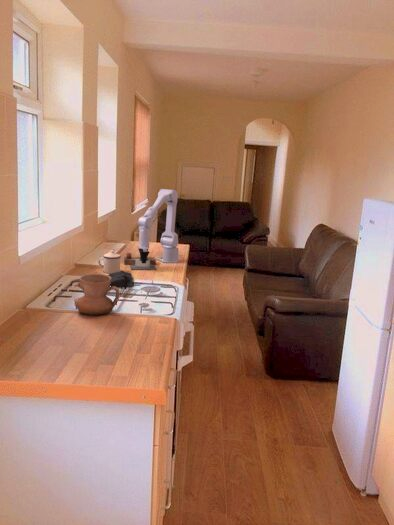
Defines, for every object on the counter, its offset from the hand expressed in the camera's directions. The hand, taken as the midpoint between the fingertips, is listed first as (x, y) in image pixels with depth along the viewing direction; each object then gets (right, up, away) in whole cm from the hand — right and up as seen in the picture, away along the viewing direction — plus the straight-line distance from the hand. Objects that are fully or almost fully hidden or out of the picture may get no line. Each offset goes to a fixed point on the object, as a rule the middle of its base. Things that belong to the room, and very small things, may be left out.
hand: (143, 262), depth 254 cm
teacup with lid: (-17, -5, -11) cm, 21 cm away
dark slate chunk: (-9, -10, -29) cm, 32 cm away
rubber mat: (0, -3, +1) cm, 4 cm away
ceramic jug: (-10, -20, -74) cm, 78 cm away
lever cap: (-1, -3, +2) cm, 3 cm away
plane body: (-4, -1, +12) cm, 13 cm away
